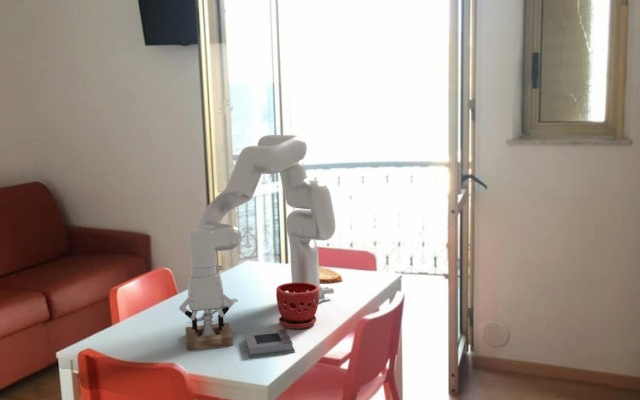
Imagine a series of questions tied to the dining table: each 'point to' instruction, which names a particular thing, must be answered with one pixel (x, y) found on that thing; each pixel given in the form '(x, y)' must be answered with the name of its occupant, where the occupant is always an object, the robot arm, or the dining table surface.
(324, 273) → the golden brown flat disc
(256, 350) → the holder
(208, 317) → the rook chess piece
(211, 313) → the caliper
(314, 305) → the plant pot
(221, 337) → the socket block
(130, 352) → the dining table surface
